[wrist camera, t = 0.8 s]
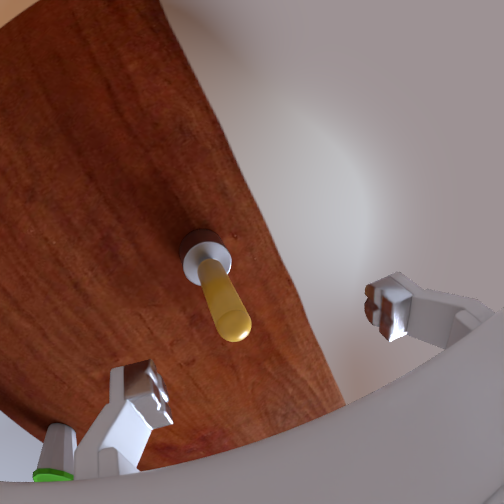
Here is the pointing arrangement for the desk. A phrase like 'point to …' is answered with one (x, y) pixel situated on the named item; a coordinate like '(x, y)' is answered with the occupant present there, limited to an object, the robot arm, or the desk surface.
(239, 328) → the yellow lever knob
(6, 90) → the desk surface
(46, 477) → the cup
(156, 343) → the desk surface
